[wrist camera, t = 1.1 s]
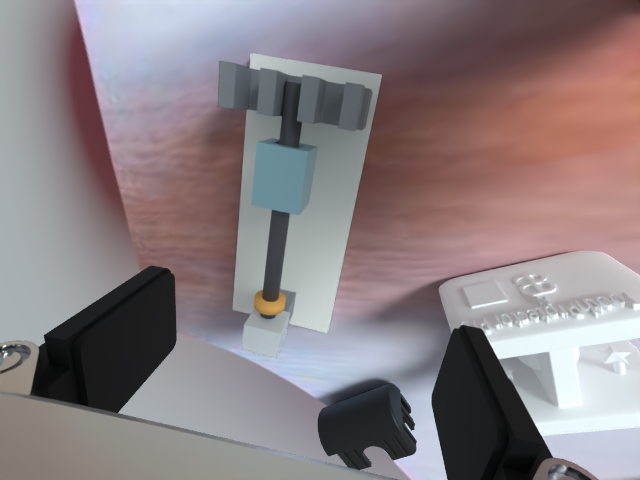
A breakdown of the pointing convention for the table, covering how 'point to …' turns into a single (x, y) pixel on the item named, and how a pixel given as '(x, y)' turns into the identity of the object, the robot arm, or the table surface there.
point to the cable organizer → (560, 336)
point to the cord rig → (325, 199)
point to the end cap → (368, 426)
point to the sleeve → (283, 176)
